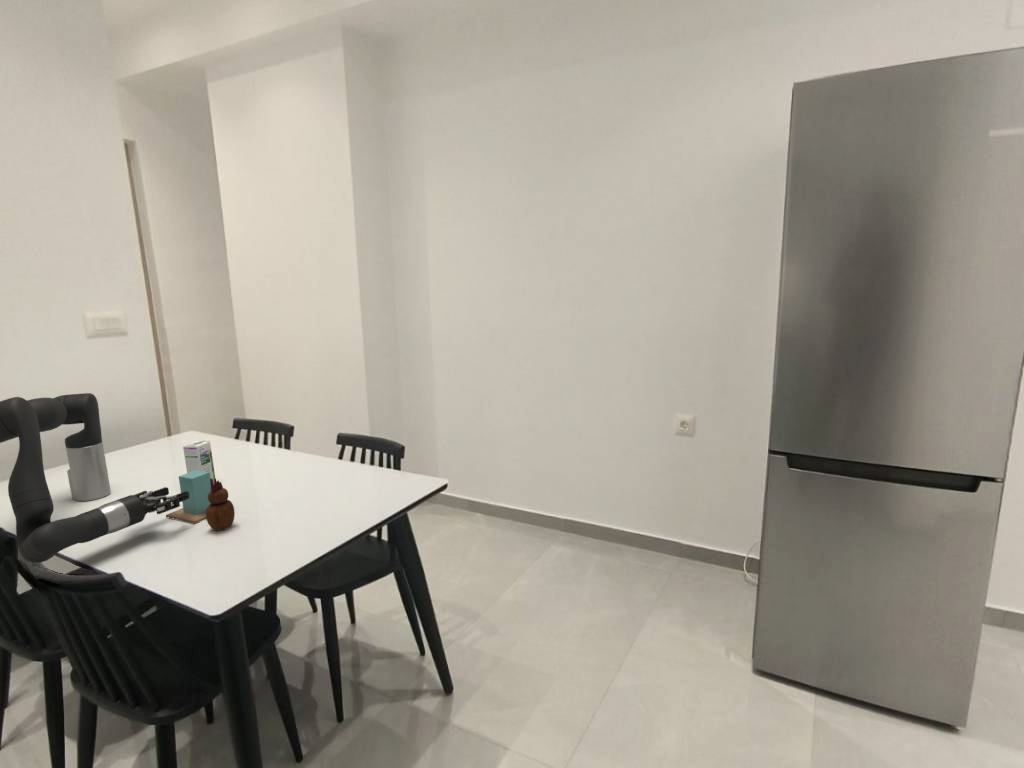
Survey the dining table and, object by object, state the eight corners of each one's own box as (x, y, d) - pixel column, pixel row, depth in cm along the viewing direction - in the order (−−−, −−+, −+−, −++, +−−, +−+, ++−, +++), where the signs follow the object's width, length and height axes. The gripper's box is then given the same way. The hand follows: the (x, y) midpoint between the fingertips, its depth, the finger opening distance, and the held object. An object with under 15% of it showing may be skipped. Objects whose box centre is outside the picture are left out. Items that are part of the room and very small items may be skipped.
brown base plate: (194, 524, 156) (191, 497, 155) (166, 517, 161) (162, 492, 159) (231, 507, 167) (228, 482, 165) (203, 501, 172) (200, 477, 170)
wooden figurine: (216, 535, 149) (209, 482, 146) (204, 530, 152) (197, 478, 149) (240, 525, 154) (233, 474, 152) (228, 521, 157) (221, 470, 155)
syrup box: (203, 488, 183) (198, 445, 180) (188, 487, 184) (182, 445, 181) (216, 482, 188) (210, 440, 186) (201, 481, 190) (195, 440, 187)
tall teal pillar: (197, 515, 160) (191, 478, 158) (183, 512, 162) (178, 476, 160) (214, 507, 165) (209, 472, 163) (201, 505, 167) (196, 470, 165)
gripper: (134, 505, 139) (193, 482, 154) (98, 497, 145) (159, 476, 159) (138, 533, 140) (197, 508, 155) (103, 524, 146) (162, 501, 161)
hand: (177, 492), depth 157 cm, fingers open, 8 cm apart
